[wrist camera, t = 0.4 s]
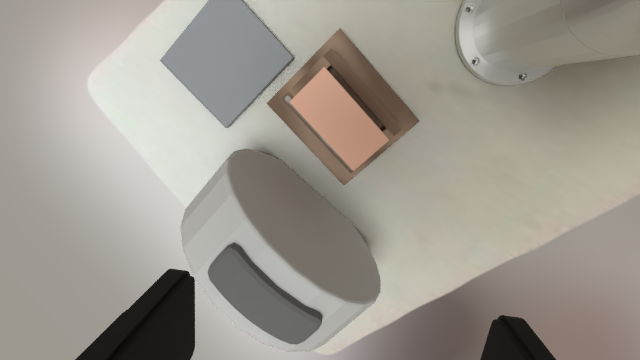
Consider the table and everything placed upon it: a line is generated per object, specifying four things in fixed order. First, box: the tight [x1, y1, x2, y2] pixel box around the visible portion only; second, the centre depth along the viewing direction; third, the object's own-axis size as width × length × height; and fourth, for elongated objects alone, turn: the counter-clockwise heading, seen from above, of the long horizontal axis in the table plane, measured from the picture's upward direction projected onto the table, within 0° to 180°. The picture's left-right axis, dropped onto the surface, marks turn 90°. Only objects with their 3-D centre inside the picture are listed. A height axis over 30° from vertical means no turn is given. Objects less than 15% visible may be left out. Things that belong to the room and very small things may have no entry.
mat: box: [160, 0, 294, 128], centre depth 38 cm, size 12×11×1 cm
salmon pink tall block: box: [290, 67, 389, 171], centre depth 32 cm, size 4×8×12 cm, turn 43°
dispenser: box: [267, 29, 419, 185], centre depth 36 cm, size 12×14×5 cm
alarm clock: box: [181, 149, 380, 352], centre depth 33 cm, size 21×8×20 cm, turn 48°
